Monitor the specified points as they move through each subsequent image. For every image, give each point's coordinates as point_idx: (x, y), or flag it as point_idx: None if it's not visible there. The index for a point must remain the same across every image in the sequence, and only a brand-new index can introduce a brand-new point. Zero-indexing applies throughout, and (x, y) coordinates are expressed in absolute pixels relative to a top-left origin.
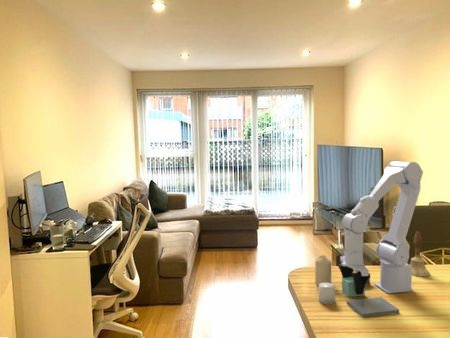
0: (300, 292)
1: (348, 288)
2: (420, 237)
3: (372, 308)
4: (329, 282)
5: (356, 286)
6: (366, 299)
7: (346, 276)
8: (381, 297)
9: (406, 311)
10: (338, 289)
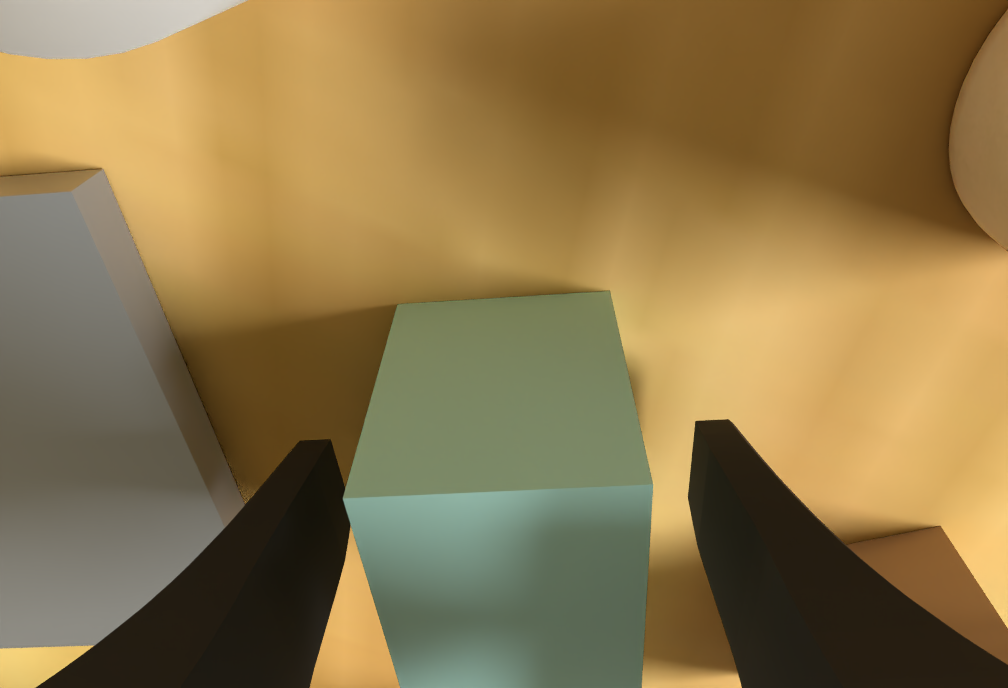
0: None
1: (369, 405)
2: None
3: None
4: (989, 206)
5: (205, 551)
6: (177, 486)
7: (749, 583)
8: None
9: (28, 669)
10: (731, 277)
